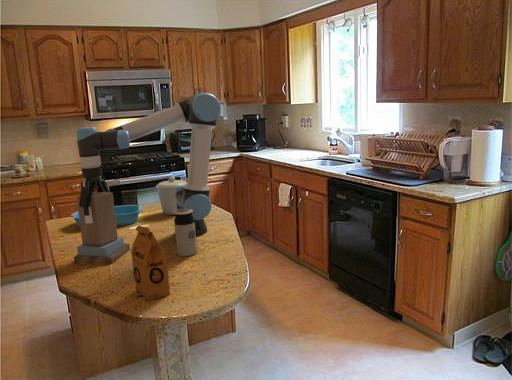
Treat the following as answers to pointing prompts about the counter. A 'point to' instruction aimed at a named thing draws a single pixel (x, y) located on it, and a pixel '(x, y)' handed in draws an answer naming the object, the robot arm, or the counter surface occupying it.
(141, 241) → the coffee package
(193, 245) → the travel mug
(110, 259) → the walnut slab
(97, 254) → the slate slab
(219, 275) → the counter surface
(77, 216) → the casserole dish
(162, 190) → the canister
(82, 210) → the wooden block
